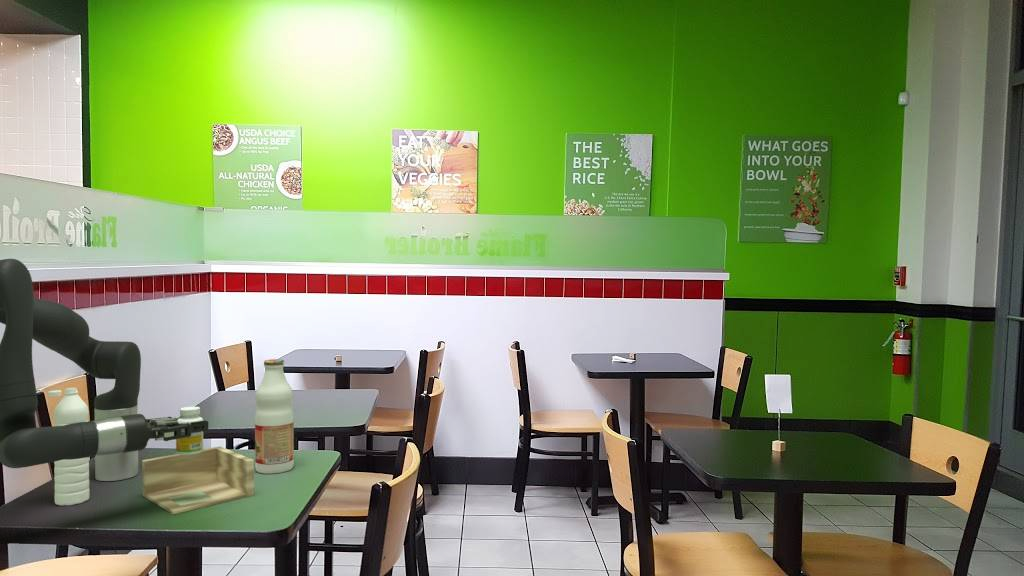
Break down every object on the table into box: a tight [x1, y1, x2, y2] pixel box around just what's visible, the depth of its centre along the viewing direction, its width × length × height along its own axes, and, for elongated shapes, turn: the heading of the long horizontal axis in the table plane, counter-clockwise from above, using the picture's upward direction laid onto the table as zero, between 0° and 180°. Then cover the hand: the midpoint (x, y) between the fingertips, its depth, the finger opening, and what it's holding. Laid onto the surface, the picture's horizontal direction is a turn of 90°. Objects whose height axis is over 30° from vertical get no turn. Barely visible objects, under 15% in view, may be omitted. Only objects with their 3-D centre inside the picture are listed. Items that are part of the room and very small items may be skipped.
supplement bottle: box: [175, 406, 204, 455], centre depth 153 cm, size 5×5×10 cm
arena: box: [141, 446, 255, 515], centre depth 158 cm, size 18×18×8 cm
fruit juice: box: [254, 358, 295, 475], centre depth 178 cm, size 9×9×28 cm
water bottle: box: [47, 387, 90, 506], centre depth 152 cm, size 9×6×25 cm
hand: (201, 423), depth 155 cm, fingers closed on supplement bottle, 5 cm apart
